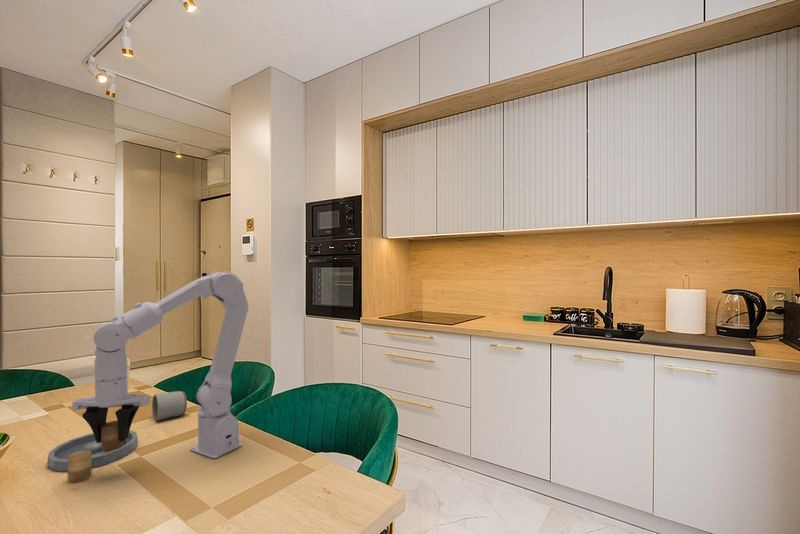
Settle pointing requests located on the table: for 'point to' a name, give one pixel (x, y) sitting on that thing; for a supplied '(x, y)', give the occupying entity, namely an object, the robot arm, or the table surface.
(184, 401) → the ceramic mug
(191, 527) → the table surface
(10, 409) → the table surface
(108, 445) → the bead
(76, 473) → the bead
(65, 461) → the tray
